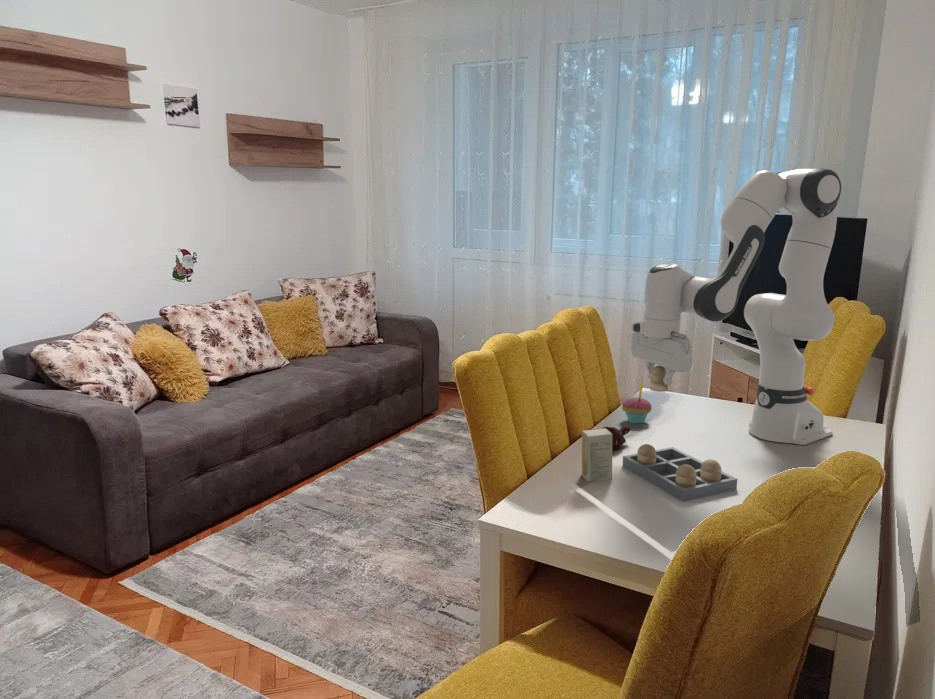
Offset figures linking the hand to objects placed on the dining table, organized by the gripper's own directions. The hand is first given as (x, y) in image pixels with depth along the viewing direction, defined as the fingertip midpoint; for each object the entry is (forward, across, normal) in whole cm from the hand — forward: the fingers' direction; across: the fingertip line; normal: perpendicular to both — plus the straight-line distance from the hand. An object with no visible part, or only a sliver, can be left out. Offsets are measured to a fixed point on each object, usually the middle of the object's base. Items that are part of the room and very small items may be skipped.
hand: (659, 381), depth 173 cm
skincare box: (+19, -10, +25) cm, 33 cm away
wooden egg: (+2, 0, 0) cm, 2 cm away
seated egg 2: (+18, -25, +12) cm, 33 cm away
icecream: (+19, +5, +11) cm, 23 cm away
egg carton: (+19, -18, +8) cm, 27 cm away
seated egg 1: (+18, -11, +12) cm, 24 cm away
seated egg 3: (+18, -25, +5) cm, 31 cm away
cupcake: (+19, +22, -10) cm, 31 cm away
